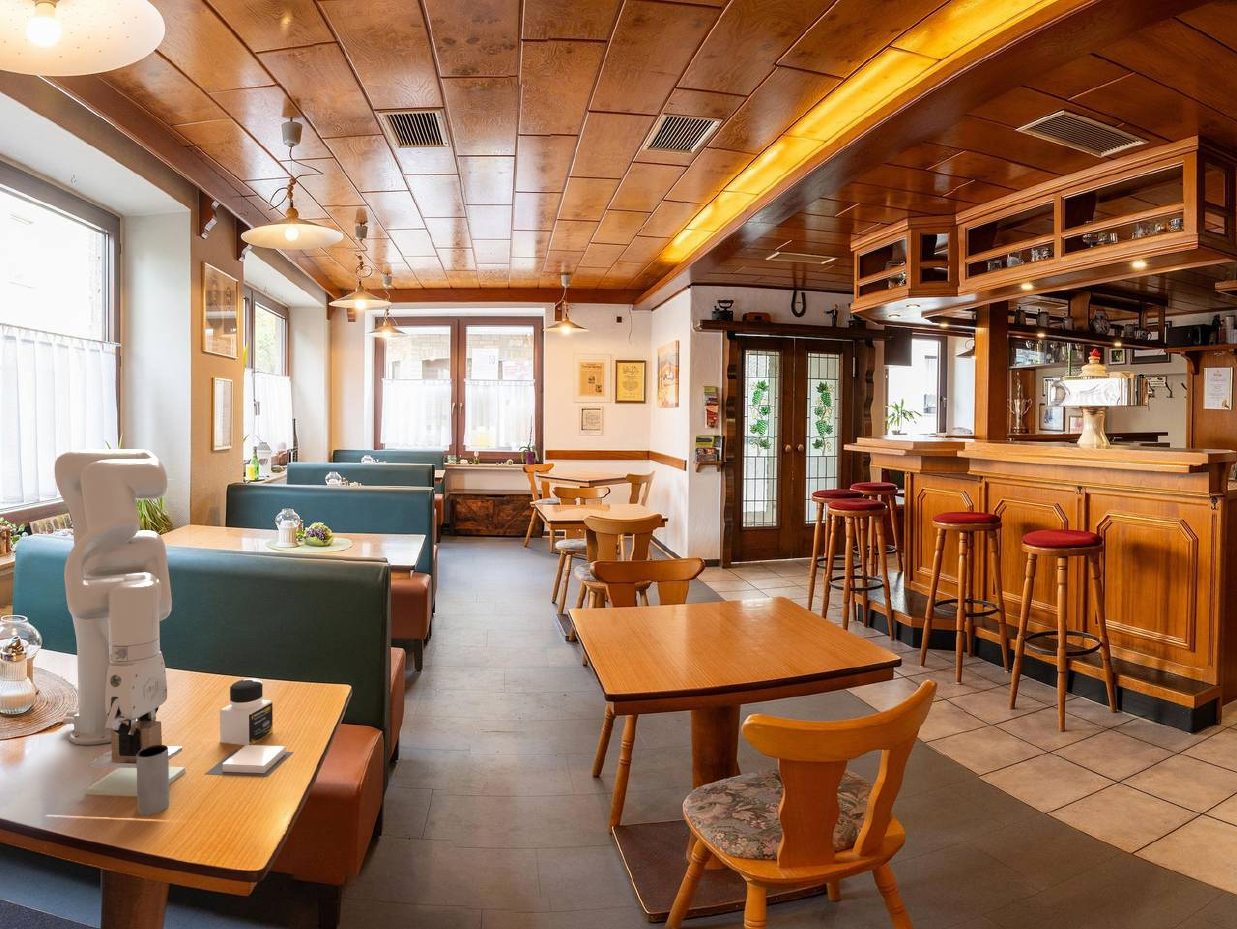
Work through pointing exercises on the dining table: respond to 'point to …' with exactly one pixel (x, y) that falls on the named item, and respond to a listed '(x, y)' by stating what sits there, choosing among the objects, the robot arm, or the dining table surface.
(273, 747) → the tile
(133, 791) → the board
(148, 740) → the float
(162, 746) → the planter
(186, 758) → the dining table surface
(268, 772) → the mat
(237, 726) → the medicine bottle
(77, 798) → the dining table surface
